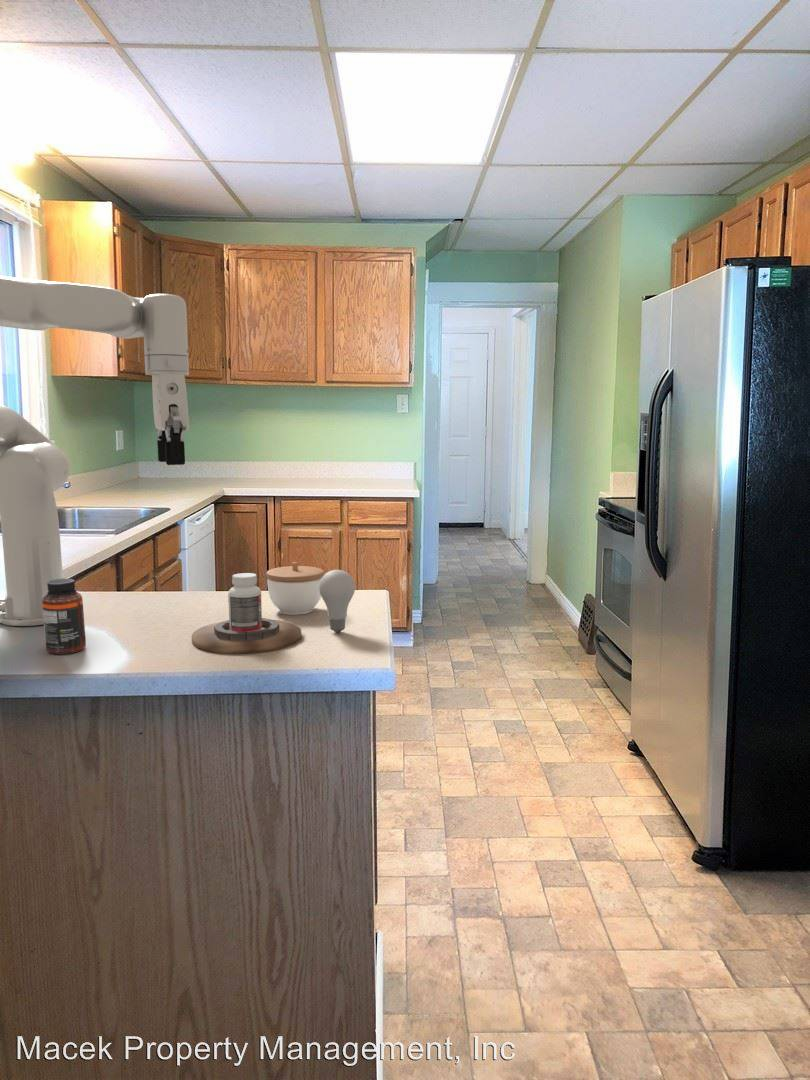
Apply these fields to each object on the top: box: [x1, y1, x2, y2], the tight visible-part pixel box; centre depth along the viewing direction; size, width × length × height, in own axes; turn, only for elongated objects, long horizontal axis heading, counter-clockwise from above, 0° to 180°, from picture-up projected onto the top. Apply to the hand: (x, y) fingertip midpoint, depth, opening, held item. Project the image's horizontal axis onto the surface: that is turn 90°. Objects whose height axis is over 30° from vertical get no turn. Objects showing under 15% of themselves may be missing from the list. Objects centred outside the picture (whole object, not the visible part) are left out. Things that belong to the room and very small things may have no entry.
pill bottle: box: [227, 572, 263, 632], centre depth 138 cm, size 5×5×10 cm
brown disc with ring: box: [191, 617, 302, 655], centre depth 139 cm, size 18×18×2 cm
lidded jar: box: [266, 561, 325, 616], centre depth 157 cm, size 11×11×9 cm
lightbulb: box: [319, 569, 356, 634], centre depth 141 cm, size 6×6×11 cm
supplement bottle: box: [42, 578, 87, 656], centre depth 131 cm, size 6×6×11 cm
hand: (171, 463), depth 150 cm, fingers open, 9 cm apart
